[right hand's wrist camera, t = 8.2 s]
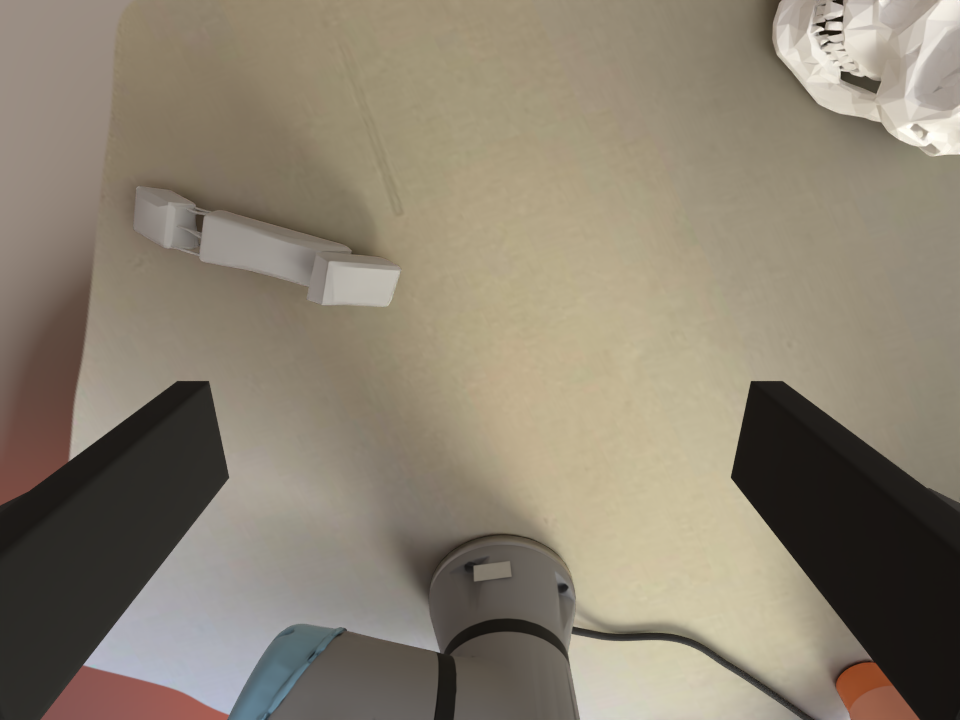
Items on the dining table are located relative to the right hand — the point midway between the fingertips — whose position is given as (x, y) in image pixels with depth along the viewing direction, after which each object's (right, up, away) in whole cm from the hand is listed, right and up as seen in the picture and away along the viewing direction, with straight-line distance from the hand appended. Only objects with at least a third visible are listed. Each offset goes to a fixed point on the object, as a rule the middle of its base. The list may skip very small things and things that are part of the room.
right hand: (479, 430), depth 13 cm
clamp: (-16, +11, +29) cm, 35 cm away
